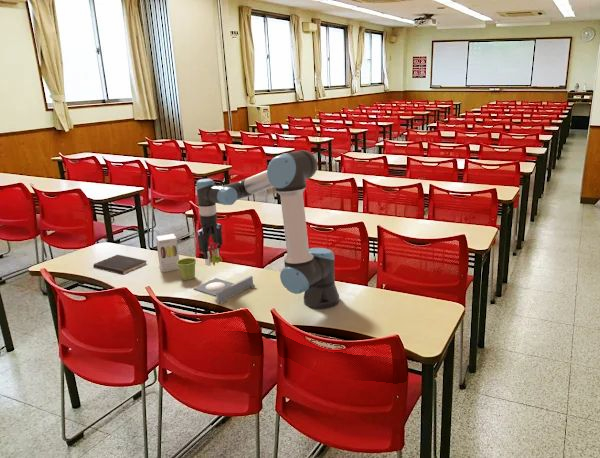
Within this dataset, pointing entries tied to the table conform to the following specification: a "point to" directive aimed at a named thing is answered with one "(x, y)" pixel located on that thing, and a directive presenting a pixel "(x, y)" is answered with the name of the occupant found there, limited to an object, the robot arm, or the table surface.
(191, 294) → the table surface
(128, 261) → the hardcover book
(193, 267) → the plant pot
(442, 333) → the table surface
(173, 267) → the supplement box
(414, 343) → the table surface
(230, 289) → the long grey bar
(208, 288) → the mat
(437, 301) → the table surface
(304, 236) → the robot arm
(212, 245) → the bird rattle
